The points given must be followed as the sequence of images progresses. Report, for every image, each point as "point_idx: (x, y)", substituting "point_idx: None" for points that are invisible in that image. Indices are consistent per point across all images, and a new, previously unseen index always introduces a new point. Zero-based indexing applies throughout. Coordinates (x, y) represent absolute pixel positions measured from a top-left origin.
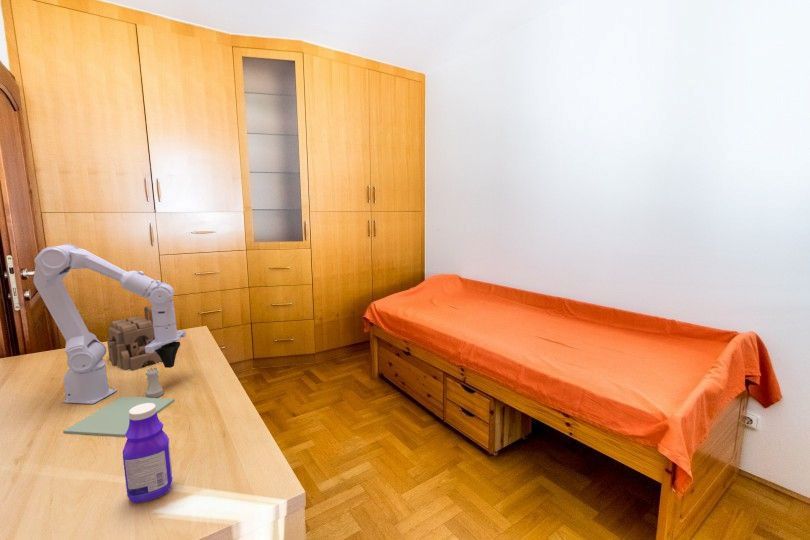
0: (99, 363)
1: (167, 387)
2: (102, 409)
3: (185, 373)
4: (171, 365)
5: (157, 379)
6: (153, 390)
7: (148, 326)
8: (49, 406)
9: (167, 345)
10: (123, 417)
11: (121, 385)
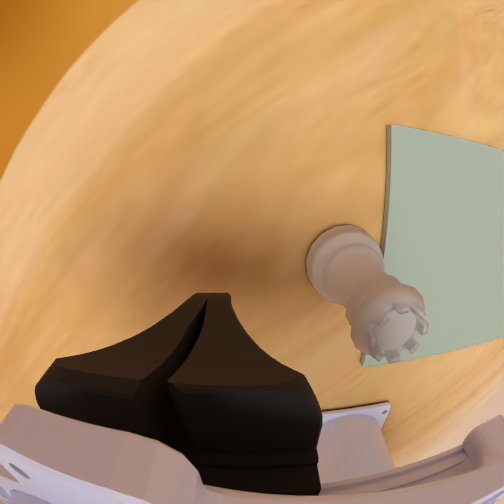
0: None
1: (254, 261)
2: (442, 346)
3: (102, 280)
4: (225, 296)
5: (371, 273)
6: (379, 257)
7: None
8: None
9: (220, 471)
10: (497, 237)
11: None
